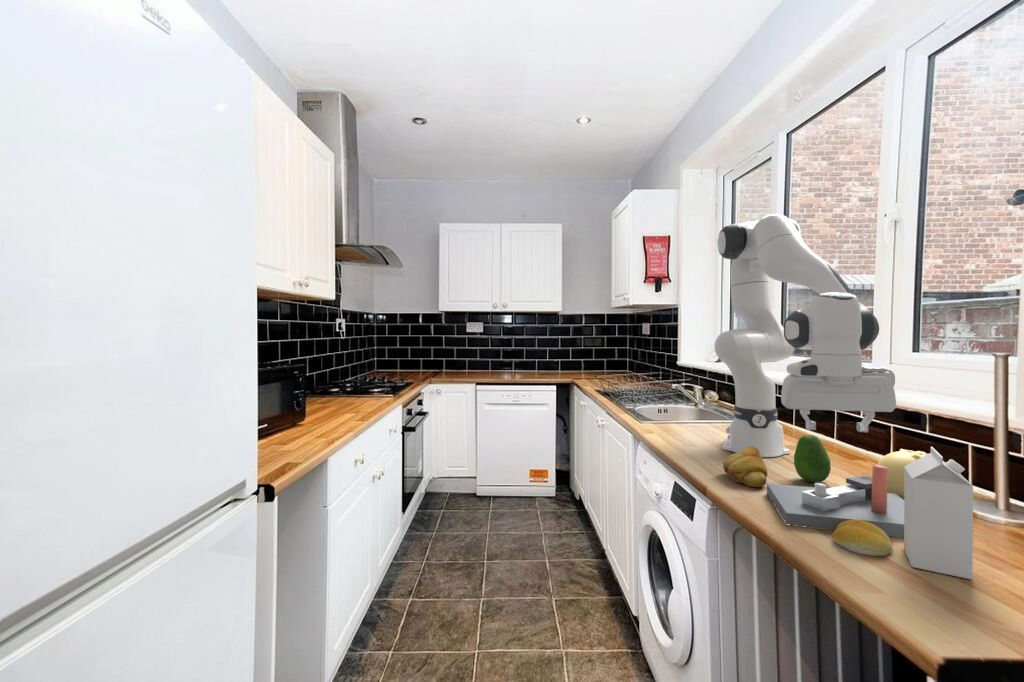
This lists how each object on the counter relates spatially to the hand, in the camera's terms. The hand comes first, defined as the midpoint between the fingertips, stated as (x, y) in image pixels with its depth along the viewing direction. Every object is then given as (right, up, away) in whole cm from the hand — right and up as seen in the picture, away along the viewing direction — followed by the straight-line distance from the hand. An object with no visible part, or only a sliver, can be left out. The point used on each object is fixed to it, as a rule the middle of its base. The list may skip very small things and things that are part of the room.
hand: (836, 430), depth 95 cm
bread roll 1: (-10, -17, +18) cm, 27 cm away
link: (-2, -15, -2) cm, 15 cm away
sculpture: (+22, -17, +6) cm, 28 cm away
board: (0, -17, -3) cm, 17 cm away
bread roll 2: (-6, -18, -15) cm, 24 cm away
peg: (+3, -15, -7) cm, 17 cm away
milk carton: (+1, -18, -22) cm, 28 cm away
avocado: (+6, -17, +16) cm, 24 cm away
